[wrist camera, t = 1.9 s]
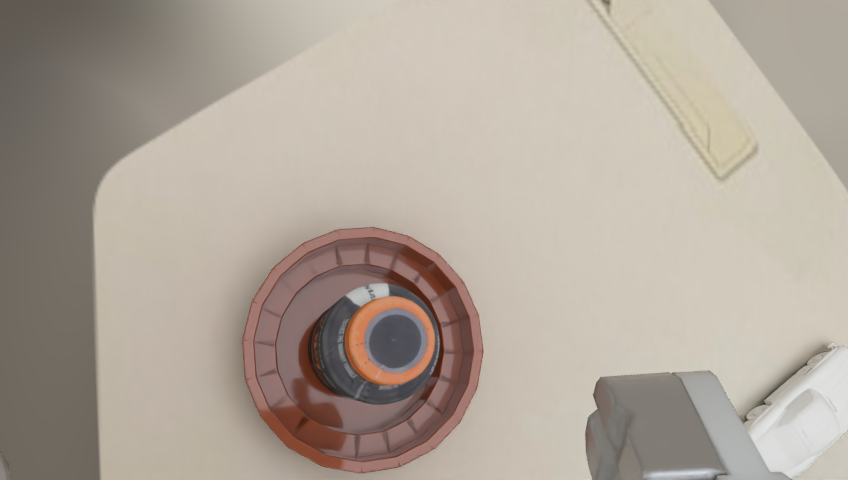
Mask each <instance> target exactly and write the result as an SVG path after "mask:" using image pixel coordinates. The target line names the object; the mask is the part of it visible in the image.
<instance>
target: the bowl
mask: <svg viewBox="0 0 848 480" xmlns="http://www.w3.org/2000/svg"><path fill="white" fill-rule="evenodd" d="M376 283H388V284H394V285H398V286H401V287H403V288H405V289H407V290H409V291H411V292H412V293H414V294H415V295H417V296H418V297H419V298H420V299H421V300H422V301H423V302H424V303H425V304H426V305H427V307H428V308H429V310H430V311H431V313H432V314H433V317H434V319H435V321H436V323H437V327H438V331H439V338H440V349H439V356H438V360H437V363H436V366H435V368H434V371H433V372H432V374H431V376H430V378H429V379H428V380H427V382H426V383H425V384H424V385H423V386H422V387H421V388H420V389H419V390H418V391H417V392H416V393H414V394H413V395H411V396H410V397H408V398H406V399H404V400H402V401H399V402H395V403H390V404H383V405H375V404H368V403H364V402H360V401H356V400H352V399H348V398H344V397H341V396H339V395H337V394H335V393H333V392H331V391H330V390H328V389H327V388H326V387H325V386H324V385H323V384H322V383H321V382H320V381H319V379H318V378H317V376H316V375H315V373H314V371H313V369H312V367H311V364H310V361H309V355H308V343H309V339H310V335H311V331H312V329H313V327H314V325H315V323H316V321H317V320H318V319H319V317H320V316H321V315H322V314H323V313H324V312H325V311H326V310H327V309H329V308H330V307H331V306H332V305H333V304H335V303H336V302H337V301H338V300H339V299H340V298H342V297H343V296H345V295H346V294H348V293H349V292H351V291H352V290H354V289H356V288H359V287H362V286H365V285H369V284H376ZM242 344H243V358H244V372H245V380H246V383H247V386H248V388H249V391H250V393H251V395H252V398H253V400H254V402H255V405H256V407H257V410H258V412H259V414H260V416H261V418H262V419H263V420H264V422H265V423H266V424H267V425H268V426H269V427H270V428H271V429H272V430H273V432H274V433H275V434H276V435H277V436H278V437H279V438H280V439H281V441H282V442H283V443H284V444H285V445H286V446H287V447H288V448H290V449H291V450H293V451H295V452H297V453H299V454H300V455H302V456H304V457H306V458H308V459H309V460H311V461H313V462H315V463H317V464H318V465H320V466H323V467H327V468H333V469H338V470H344V471H350V472H355V473H367V472H373V471H379V470H386V469H392V468H398V467H401V466H403V465H405V464H407V463H409V462H411V461H412V460H414V459H416V458H418V457H420V456H422V455H424V454H426V453H428V452H430V451H432V450H433V449H435V448H436V447H437V446H438V445H439V444H440V442H441V441H442V440H443V439H444V438H445V437H446V436H447V435H448V434H449V433H450V432H451V431H452V430H453V429H454V428H455V427H456V426H457V425H458V424H459V423H460V421H461V420H462V418H463V416H464V414H465V412H466V410H467V408H468V406H469V404H470V402H471V400H472V398H473V396H474V394H475V392H476V390H477V387H478V381H479V375H480V369H481V363H482V357H483V344H482V336H481V328H480V321H479V315H478V312H477V310H476V308H475V306H474V304H473V301H472V299H471V297H470V295H469V292H468V290H467V288H466V286H465V284H464V282H463V281H462V279H461V278H460V277H459V276H458V275H457V274H456V273H455V271H454V270H453V269H452V268H451V267H450V266H449V265H448V264H447V262H446V261H445V260H444V259H443V258H442V257H441V256H440V255H439V254H438V253H436V252H435V251H433V250H431V249H430V248H428V247H426V246H425V245H423V244H421V243H420V242H418V241H416V240H415V239H413V238H412V237H410V236H407V235H403V234H399V233H395V232H391V231H387V230H383V229H379V228H374V227H369V228H354V229H339V230H335V231H333V232H330V233H328V234H325V235H323V236H320V237H318V238H315V239H313V240H310V241H308V242H305V243H303V244H301V245H300V246H299V247H298V248H296V249H295V250H294V251H293V252H292V253H290V254H289V255H288V256H287V257H286V258H284V259H283V260H282V261H281V262H280V263H278V264H277V265H276V266H275V267H274V268H273V269H272V270H271V272H270V273H269V275H268V277H267V278H266V280H265V281H264V283H263V284H262V286H261V288H260V289H259V291H258V292H257V294H256V296H255V297H254V299H253V301H252V303H251V307H250V311H249V315H248V319H247V323H246V327H245V331H244V335H243V341H242Z"/></svg>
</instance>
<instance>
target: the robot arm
mask: <svg viewBox="0 0 848 480" xmlns="http://www.w3.org/2000/svg"><path fill="white" fill-rule="evenodd" d="M593 397H594V399H595V402H596V405H597V408H598V409H597V410H596V411H595V412H593V413H592V414H591V415H590V416H589V417H588V421H587V427H586V432H585V437H586V455H587V460H588V465H589V470H590V473H591V476H592V480H792V479H791V478H789V477H788V476H786V475H785V474H784V473H782V472H770V471H769V469H768V467H767V466H766V464H765V462H764V460H763V458H762V457H761V455H760V453H759V451H758V450H757V448H756V446H755V444H754V442H753V441H752V439H751V437H750V435H749V433H748V432H747V430H746V428H745V426H744V424H743V423H742V421H741V419H740V417H739V416H738V414H737V412H736V410H735V408H734V407H733V405H732V403H731V401H730V399H729V398H728V396H727V394H726V392H725V391H724V389H723V387H722V385H721V383H720V382H719V380H718V378H717V376H716V375H714V374H713V373H712V372H711V371H694V372H676V373H669V372H667V373H652V374H638V375H623V376H609V377H600V379H599V380H598V381H597V383H596V386H595V390H594V394H593ZM0 480H11V475H10V470H9V465H8V462H7V461H6V459H5V457H4V455H3V453H2V452H1V451H0Z"/></svg>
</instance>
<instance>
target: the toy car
mask: <svg viewBox="0 0 848 480" xmlns="http://www.w3.org/2000/svg"><path fill="white" fill-rule="evenodd" d="M830 347H833V348H831V349H829V350H828V352H824V353H820V354H817V355H815V356H814V357H812V358H811V359H809V361H808V362H807V364H808V365H807V366H804V367H803V368H801V369H800V370H799V371H798V372H797V373H795V374H794V375H793V376H792V377H791V378H790V379H788V380H787V381H786V382H785V383H784V384H783V385H782V386H780V387H779V388H778V389H777V390H776V391H775V392H773V393H772V394H771V395H770V396H769V397H768V398H767V399H765V400H764V402H765V404H766V405H761V406H758V407H755V408H754V409H752V410H751V411H749V412H748V414H747V416H746V418H747V419H748V421H746V422H745V423H744V426H745V428H746V430H747V432H748V433H749V435H750V437H751V439H752V441H753V442H754V444H755V446H756V448H757V450H758V451H759V453H760V455H761V457H762V458H763V460H764V462H765V464H766V466H767V467H768V469H769V471H770V472H782V473H784V474H785V475H786V476H788V477H789V478H791V479H792V478H794V477H796V476H798V475H799V474H801V473H802V472H803V471H804V470H806V469H807V468H808V467H809V466H810V465H811V464H812V463H813V462H814V461H815V460H816V458H817V457H819V456H820V455H821V454H822V453H823V452H824V451H826V450H827V449H828V448H829V447H830V446H831V445H832V444H834V443H835V442H836V441H837V440H838V439H839V438H840V437H841V436H842V435H843V434H844V433H845V432H847V431H848V348H847V347H846V346H837V345H836V344H835V343H831V344H829V345H828V346H827V347H826V348H830ZM806 391H807V392H806ZM802 394H803V395H802ZM804 398H805V399H804ZM796 399H797V400H796ZM795 400H796V401H795ZM807 400H808V401H807Z"/></svg>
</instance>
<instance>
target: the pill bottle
mask: <svg viewBox="0 0 848 480" xmlns="http://www.w3.org/2000/svg"><path fill="white" fill-rule="evenodd" d="M439 349H440V338H439V331H438V327H437V323H436V321H435V319H434V317H433V314H432V313H431V311H430V310H429V308H428V307H427V305H426V304H425V303H424V302H423V301H422V300H421V299H420V298H419V297H418V296H417V295H415V294H414V293H412V292H411V291H409V290H407V289H405V288H403V287H401V286H398V285H394V284H388V283H376V284H369V285H365V286H362V287H359V288H356V289H354V290H352V291H351V292H349V293H348V294H346V295H345V296H343V297H342V298H340V299H339V300H338V301H337V302H336V303H335V304H333V305H332V306H331V307H330V308H329V309H327V310H326V311H325V312H324V313H323V314H322V315H321V316H320V317H319V319H318V320H317V321H316V323H315V325H314V327H313V329H312V331H311V335H310V339H309V343H308V355H309V361H310V364H311V367H312V369H313V371H314V373H315V375H316V376H317V378H318V379H319V381H320V382H321V383H322V384H323V385H324V386H325V387H326V388H327V389H328V390H330V391H331V392H333V393H335V394H337V395H339V396H341V397H344V398H348V399H352V400H356V401H360V402H364V403H368V404H375V405H383V404H390V403H395V402H399V401H402V400H404V399H406V398H408V397H410V396H411V395H413V394H414V393H416V392H417V391H418V390H419V389H420V388H421V387H422V386H423V385H424V384H425V383H426V382H427V380H428V379H429V378H430V376H431V374H432V372H433V371H434V368H435V366H436V363H437V360H438V356H439Z"/></svg>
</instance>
